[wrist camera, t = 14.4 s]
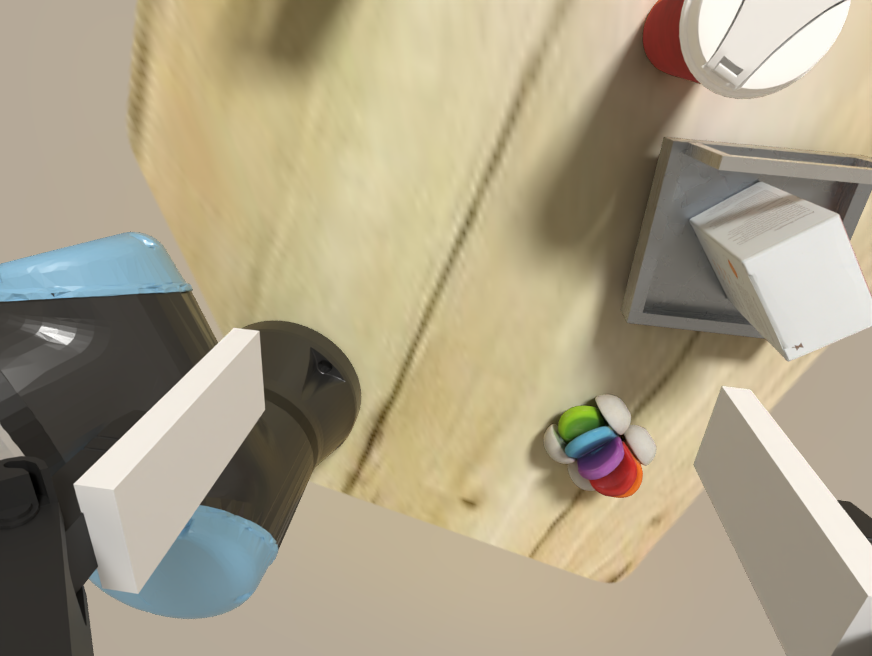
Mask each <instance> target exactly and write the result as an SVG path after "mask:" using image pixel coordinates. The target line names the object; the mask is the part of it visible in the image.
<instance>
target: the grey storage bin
mask: <svg viewBox="0 0 872 656" xmlns="http://www.w3.org/2000/svg"><path fill="white" fill-rule="evenodd" d="M758 182H764V183H766V184H768V185H771V186H773V187H776V188H778V189H780V190H783V191H785V192H788V193H790V194H792V195H794V196H797V197H799V198H802V199H804V200H806V201H809V202H811V203H814V204H816V205H818V206H821V207H823V208H826V209H828V210H830V211H833V212H835V213H837V214H839V215H840V217H841V220H842V222H843V225H844V227H845V230H846V232H847V235H848V237H849V240H851V237H852V235H853V233H854V230H855V228H856V226H857V223H858V221H859V219H860V216H861V214H862V212H863V209H864V207H865V205H866V202H867V200H868V198H869V195H870V193H871V190H872V157H868V156H864V155H855V154H844V153H833V152H822V151H812V150H801V149H790V148H779V147H768V146H757V145H747V144H736V143H725V142H714V141H703V140H692V139H681V138H671V137H664V138H663V142H662V146H661V150H660V154H659V158H658V162H657V166H656V170H655V175H654V179H653V183H652V187H651V191H650V195H649V199H648V203H647V207H646V211H645V215H644V219H643V223H642V227H641V231H640V235H639V239H638V243H637V247H636V251H635V255H634V259H633V263H632V267H631V271H630V275H629V279H628V283H627V287H626V291H625V295H624V299H623V303H622V307H621V312H622V314H623V316H624V318H625V320H626V322H627V323H633V324H642V325H650V326H659V327H668V328H677V329H686V330H694V331H703V332H712V333H721V334H730V335H738V336H747V337H756V338H764V337H763V336H762V335H761V334H760V333H759V332H758V331H757V330H756V329H755V328H754V327H753V326H752V325H751V324H750V323H749V321H748V320H747V319H746V318H745V317H744V316H743V315H742V314H741V313H740V312H739V311H738V310H737V309H736V308H735V307H734V306H733V305H732V304H731V302H730V301H729V300H728V298H727V296H726V294H725V292H724V290H723V288H722V285H721V283H720V281H719V279H718V277H717V276H716V274H715V272H714V269H713V267H712V265H711V263H710V261H709V259H708V257H707V255H706V253H705V251H704V249H703V247H702V245H701V243H700V241H699V239H698V237H697V235H696V233H695V231H694V229H693V227H692V225H691V224H690V222H689V220H690V219H691V218H693V217H695V216H697V215H698V214H700V213H702V212H704V211H706V210H708V209H709V208H711V207H713V206H715V205H717V204H719V203H720V202H722V201H724V200H726V199H728V198H730V197H732V196H734V195H735V194H737V193H739V192H741V191H743V190H745V189H747V188H749V187H750V186H752V185H754V184H756V183H758Z"/></svg>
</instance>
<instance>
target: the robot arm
mask: <svg viewBox="0 0 872 656" xmlns="http://www.w3.org/2000/svg"><path fill="white" fill-rule="evenodd" d="M192 290H193V289H192V286H191V285H190V284H188V283H186V282H185V280H184V279H183V277H182V276H181V274H180V273H179V271H178V269H177V268H176V266H175V264H174V263H173V261H172V260H171V258H170V256H169V254H168V253H167V251H166V249H165V248H164V246H163V245H162V244H161V243H160V242H159V241H158V240H156V239H155V238H153V237H151V236H149V235H147V234H143V233H140V232H127V233H122V234H117V235H114V236H109V237H105V238H101V239H97V240H93V241H89V242H85V243H81V244H77V245H73V246H69V247H65V248H61V249H57V250H53V251H49V252H45V253H41V254H37V255H33V256H29V257H25V258H21V259H17V260H14V261H10V262H6V263H2V264H0V656H94V653H93V645H92V638H91V629H90V621H89V613H88V604H87V596H86V592H85V589H84V586H83V585H84V584H85V582H86V581H87V580H88V579H89V580H90V581H91V582H92V583H94V584H95V585H96V586H97V587H98V588H100V589H101V590H102V591H104V592H105V593H106V594H108V595H110V596H111V597H113V598H115V599H117V600H119V601H121V602H122V603H124V604H126V605H129V606H131V607H134V608H136V609H139V610H142V611H146V612H150V613H153V614H156V615H161V616H165V617H172V618H183V619H195V618H207V617H213V616H217V615H220V614H223V613H226V612H229V611H231V610H233V609H235V608H237V607H238V606H240V605H241V604H243V603H244V602H245V601H246V600H247V599H248V598H249V597H250V596H251V595H252V594H253V593H254V591H255V590H256V588H257V587H258V585H259V583H260V581H261V579H262V577H263V576H264V574H265V572H266V570H267V568H268V566H270V565H271V564H272V562H273V560H275V558H276V556H277V553H278V549H279V547H280V545H281V543H282V540H283V538H284V536H285V533H286V531H287V529H288V527H289V524H290V522H291V520H292V517H293V515H294V513H295V510H296V508H297V506H298V504H299V501H300V499H301V497H302V494H303V492H304V490H305V488H306V485H307V483H308V481H309V479H310V476H311V474H312V472H313V470H314V468H315V467H316V466H317V465H318V464H319V463H320V462H322V461H323V460H324V459H325V458H326V457H327V456H328V455H329V454H331V453H332V452H333V451H334V450H336V449H337V448H338V447H339V446H340V445H341V444H342V443H343V442H344V441H345V440H346V438H347V437H348V435H349V434H350V432H351V430H352V428H353V426H354V423H355V421H356V419H357V416H358V413H359V410H360V405H361V389H360V384H359V380H358V377H357V374H356V372H355V370H354V368H353V366H352V364H351V363H350V361H349V359H348V358H347V357H346V355H345V354H344V353H343V352H342V351H341V350H340V349H339V348H338V347H337V346H336V345H335V344H334V343H333V342H332V341H330V340H329V339H328V338H326V337H325V336H323V335H322V334H320V333H318V332H316V331H314V330H312V329H310V328H308V327H305V326H302V325H299V324H296V323H291V322H285V321H264V322H258V323H254V324H251V325H248V326H246V327H244V328H242V329H240V328H233V329H232V330H231V331H230V332H229V333H228V334H227V335H226V336H225V337H224V338H223V339H222V340H221V341H220V342H219V343H218V342H217V340H216V338H215V336H214V334H213V332H212V330H211V328H210V326H209V324H208V323H207V321H206V319H205V317H204V315H203V313H202V311H201V309H200V307H199V305H198V303H197V301H196V299H195V297H194V296H193V294H192V292H191V291H192ZM693 465H694V467H695V469H696V471H697V473H698V475H699V477H700V479H701V481H702V483H703V485H704V487H705V490H706V492H707V494H708V496H709V498H710V500H711V501H712V504H713V506H714V508H715V510H716V512H717V514H718V516H719V518H720V520H721V522H722V524H723V526H724V528H725V530H726V532H727V535H728V537H729V538H730V541H731V543H732V545H733V547H734V548H735V551H736V553H737V555H738V557H739V559H740V561H741V563H742V565H743V567H744V569H745V572H746V574H747V575H748V578H749V580H750V582H751V584H752V586H753V588H754V590H755V592H756V594H757V596H758V598H759V600H760V602H761V604H762V606H763V608H764V610H765V613H766V615H767V617H768V619H769V621H770V623H771V625H772V627H773V629H774V631H775V633H776V635H777V637H778V639H779V641H780V643H781V645H782V647H783V649H784V651H785V654H786V655H787V656H872V518H871V517H869V516H868V515H867V514H865V513H864V512H863V511H861V510H860V509H859V508H857V507H856V506H855V505H853V504H852V503H851V502H848V501H841V500H836V499H835V497H834V496H833V495H832V494H831V492H830V491H829V490H828V489H827V487H826V486H825V485H824V483H823V482H822V481H821V480H820V478H819V477H818V476H817V475H816V473H815V472H814V471H813V470H812V468H811V467H810V465H809V464H808V463H807V462H806V460H805V459H804V458H803V456H802V455H801V454H800V453H799V451H798V450H797V449H796V448H795V446H794V445H793V444H792V442H791V441H790V440H789V438H788V437H787V436H786V435H785V433H784V432H783V431H782V429H781V428H780V427H779V426H778V424H777V423H776V422H775V421H774V419H773V418H772V417H771V415H770V414H769V413H768V411H767V410H766V409H765V408H764V406H763V405H762V404H761V402H760V401H759V400H758V399H757V397H756V396H755V395H754V394H753V392H752V391H751V390H750V389H742V388H734V387H725V386H722V387H721V390H720V393H719V395H718V398H717V401H716V404H715V406H714V409H713V412H712V415H711V417H710V420H709V423H708V426H707V428H706V431H705V434H704V437H703V439H702V442H701V445H700V448H699V451H698V453H697V456H696V459H695V462H694V464H693Z"/></svg>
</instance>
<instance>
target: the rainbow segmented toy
mask: <svg viewBox="0 0 872 656" xmlns="http://www.w3.org/2000/svg"><path fill="white" fill-rule="evenodd" d="M595 401H596V403H597V406H598V408H599V409H597V408H596V407H592V406H576V407H572V408H570V409H568V410H567V411H566V412H564V413H563V415H562V416H561V417H560V419H559V423H558V426H557V425H555V424H552V425H550V426H549V427H548V429H547V430H546V432H545V434H544V439H543V443H544V447H545V450H546V452H547V453H548V455H549V456H550V457H551V458H552V459H553V460H555V461H556V462H559V463H563V464H568V473H569V475H570V477H571V479H572V481H573V482H574V484H575V485H576V486H578V487H579V488H581V489H583V490H587V491H594V490H596V491H598V492H599V493H601V494H603V495H605V496H611V497H617V498H624V497H628V496H631V495H632V494H634V493H635V492H636V491H637V490H638V488H639V487H640V485H641V482H642V477H643V472H642V467H641V464H643V465H645V466H646V465H648V464H649V463H650V462H651V461H652V460H653V459H654V457H655V454H656V445H655V442H654V440H653V439H652V437H651V436H650V434H649V433H648V431H647V430H646V429H645V428H643V427H641V426H638V425H630V422H631V414H630V412H629V410H628V408H627V407H626V405H625V404H624V402H623V401H622V400H621V399H620V398H619V397H617V396H614V395H610V394H604V395H599V396H597V397H596V398H595ZM617 434H619V435H622V434H624V436H625V439H623V438H622V437H621V436H618V435H617Z"/></svg>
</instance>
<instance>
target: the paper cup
mask: <svg viewBox="0 0 872 656" xmlns="http://www.w3.org/2000/svg"><path fill="white" fill-rule="evenodd" d="M850 2H851V0H658V1H657V2H656V4H655V5H654V6H653V8H652V9H651V11H650V13H649V15H648V17H647V19H646V22H645V25H644V30H643V46H644V50H645V53H646V55H647V57H648V59H649V60H650V62H651V63H652V64H653V65H654V66H655V67H656V68H658V69H659V70H661V71H663V72H665V73H667V74H670V75H673V76H676V77H680V78H683V79H687V80H690V81H693V82H696V83H699V84H702V85H703V86H704V87H705V88H707V89H709V90H710V91H712V92H714V93H716V94H719V95H722V96H724V97H729V98H735V99H751V98H757V97H763V96H766V95H769V94H772V93H775V92H777V91H779V90H782V89H784V88H786V87H788V86H789V85H791V84H792V83H794V82H796V81H797V80H799V79H800V78H801V77H802V76H804V75H805V74H806V73H807V72H808V71H810V70H811V69H812V68H813V66H814V65H815V64H816V63H817V62H818V61H819V60H820V59H821V58H822V57H823V56H824V55H825V54H826V53H827V51H828V50H829V49H830V47H831V46H832V45H833V43H834V42H835V40H836V38H837V37H838V35H839V33H840V31H841V29H842V27H843V25H844V22H845V20H846V18H847V14H848V10H849V7H850Z"/></svg>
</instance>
